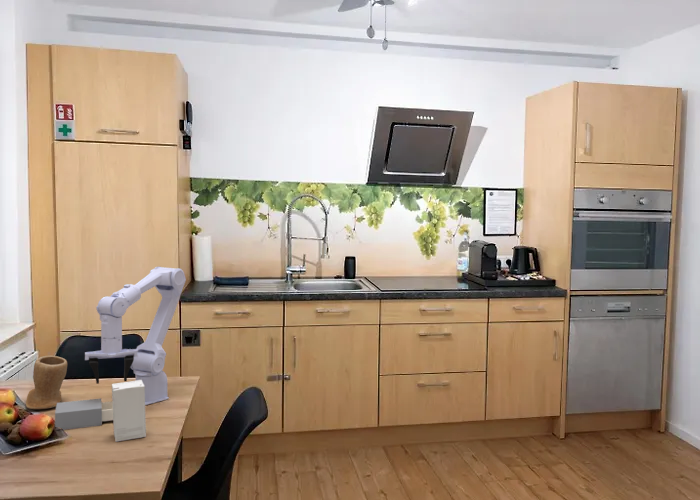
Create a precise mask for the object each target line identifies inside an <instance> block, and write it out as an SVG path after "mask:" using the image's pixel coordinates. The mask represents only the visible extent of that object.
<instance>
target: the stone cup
mask: <svg viewBox="0 0 700 500" xmlns="http://www.w3.org/2000/svg"><path fill="white" fill-rule="evenodd" d="M67 369H68V361H67V359H65V358H63V357H60V356H57V355H44V356H40V357H38V358H37V359H36V360H35V362H34V364H33V371H32V379H33V383H34V388H32V389H30V390H29V391H28V393H27V396H26V400H25V407H26V408H27V409H29V410H30V409H31V410H46V409H51V408H56V405H57V403H61V402H62V391H61V387H62V384H63V382H64V379H65V378H66V375H67V371H68V370H67Z"/></svg>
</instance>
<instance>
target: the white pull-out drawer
mask: <svg viewBox="0 0 700 500" xmlns="http://www.w3.org/2000/svg"><path fill="white" fill-rule="evenodd" d="M101 404H102V422H109V421H113V403H112V401H105V402H104V401H101Z"/></svg>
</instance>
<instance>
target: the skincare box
mask: <svg viewBox="0 0 700 500" xmlns="http://www.w3.org/2000/svg"><path fill="white" fill-rule="evenodd" d="M111 399H112V401H111V402H112V403H113V420H112V422H113V424H112V425H113V436H114V440H115V442H123V441H128V440H134V439H139V438H146V437H147V427H146V426H147V425H146V423H147V422H146V419H147V418H146V405H145V386H144V384H143V382H142V380H136V379H135V380H132V381H123V382H117V383H111Z"/></svg>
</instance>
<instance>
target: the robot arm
mask: <svg viewBox="0 0 700 500" xmlns="http://www.w3.org/2000/svg"><path fill="white" fill-rule="evenodd" d="M185 275H186V274H185V272H184V270H183V269H182V268H177V267H176V268H173V267H166V266H165V267H163V266H155V267H154V268H152V269H151V270H150V271H149V273H148V274H147V275H146V276H145V277H143V278H142V279H141V280H139V281H138V282H137V283H135V284H133V283H130V284H129V283H128V284H124V285H123V287H122V288H121V289H119V290H116V291H114V292H112V294H111V295H110V296H107V295H106V296H104V297H102V298H101V299H100V300H98V303H97V306H95V308H96V312H97V314H98V315H99V320H100V323H101V324H100V335H101V337H100V343H101V345H100V346H101V347H100V350H95V351H86V352H84V361H88V363H89V366H90V368H91V369H92V371H93V375H94V377H95V383H96V384H98V385H99V384H100V378H99V377H100V376H99V360H101V359H115V358H124V370H123V371H124V372H123V382H128V375H129V373H130V369H131V370H133V374H135V381H136V380H142V382H143V384H144V386H145V406H147V405H151V404H154V403H159V402H162V401H165V400H166V401H167V400H169V398H170V397H169V396H168V376H167V374H166V372H165V371H164V367H165V361H166V356H167V353H166V351H165V350H164V348H163V343H164V341H165V339H166V336H167V333H168V330H169V328H170V325H171V323H172V320H173V318H174V315H175V313H176V310H177V307H178V304H179V301H180V299H181V294H182V292H183V288H184V287H185V284H186V282H187V278H186V276H185ZM153 288H156V290H157V291H158V293H159V294H160V295H161V300H160V302H159V306H158V308H157V310H156V314H155V315H154V317H153V321H152V323H151V326H150V329H149V330H148V334H147V337H146V339H145V341H144V342H143V343H141V344H139V345H137V346H136V348H132V349H131V348H129V349H128V348H123V316H124V315H125V314H126V312H127V310H128V309H129V308H130V307H131V306H132V305H134V304H135V303H137V302H138V301H140V299H141V298H142V295H143V293H146V292H147V291H149V290H151V289H153Z"/></svg>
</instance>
